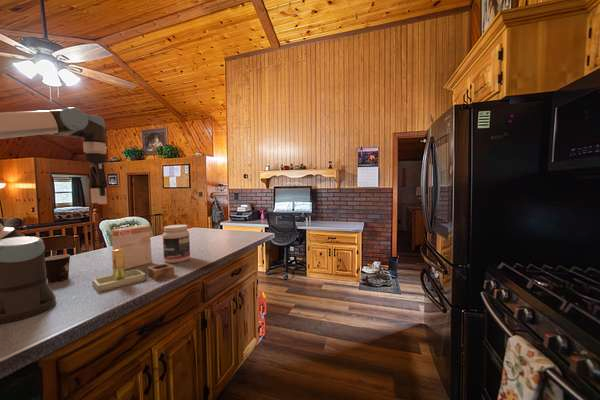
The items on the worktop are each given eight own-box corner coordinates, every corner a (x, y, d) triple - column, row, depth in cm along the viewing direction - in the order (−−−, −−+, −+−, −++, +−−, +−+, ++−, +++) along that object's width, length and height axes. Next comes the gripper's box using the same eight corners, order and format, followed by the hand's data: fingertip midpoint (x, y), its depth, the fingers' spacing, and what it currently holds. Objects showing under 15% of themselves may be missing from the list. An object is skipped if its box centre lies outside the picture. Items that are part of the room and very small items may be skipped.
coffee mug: (54, 284, 103) (52, 260, 103) (38, 283, 105) (36, 259, 105) (83, 274, 115) (82, 253, 114) (68, 273, 117) (67, 252, 116)
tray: (98, 292, 94) (98, 285, 94) (92, 285, 101) (92, 279, 101) (146, 279, 106) (145, 273, 106) (137, 274, 114) (137, 268, 113)
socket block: (154, 280, 105) (154, 271, 105) (148, 276, 110) (147, 267, 110) (174, 275, 111) (174, 266, 111) (167, 271, 116) (166, 262, 116)
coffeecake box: (146, 260, 135) (144, 224, 134) (152, 262, 131) (150, 225, 130) (113, 268, 123) (110, 229, 122) (118, 271, 119) (116, 230, 118)
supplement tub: (158, 262, 131) (156, 227, 130) (178, 255, 143) (176, 223, 142) (176, 264, 126) (174, 228, 125) (195, 257, 138) (194, 224, 137)
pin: (115, 283, 101) (113, 251, 100) (112, 281, 104) (110, 250, 103) (126, 280, 104) (125, 249, 103) (124, 278, 107) (122, 248, 106)
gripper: (114, 151, 101) (117, 203, 102) (99, 156, 117) (103, 202, 118) (90, 149, 95) (94, 205, 96) (78, 155, 112) (82, 203, 113)
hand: (99, 203), depth 107 cm, fingers open, 13 cm apart
